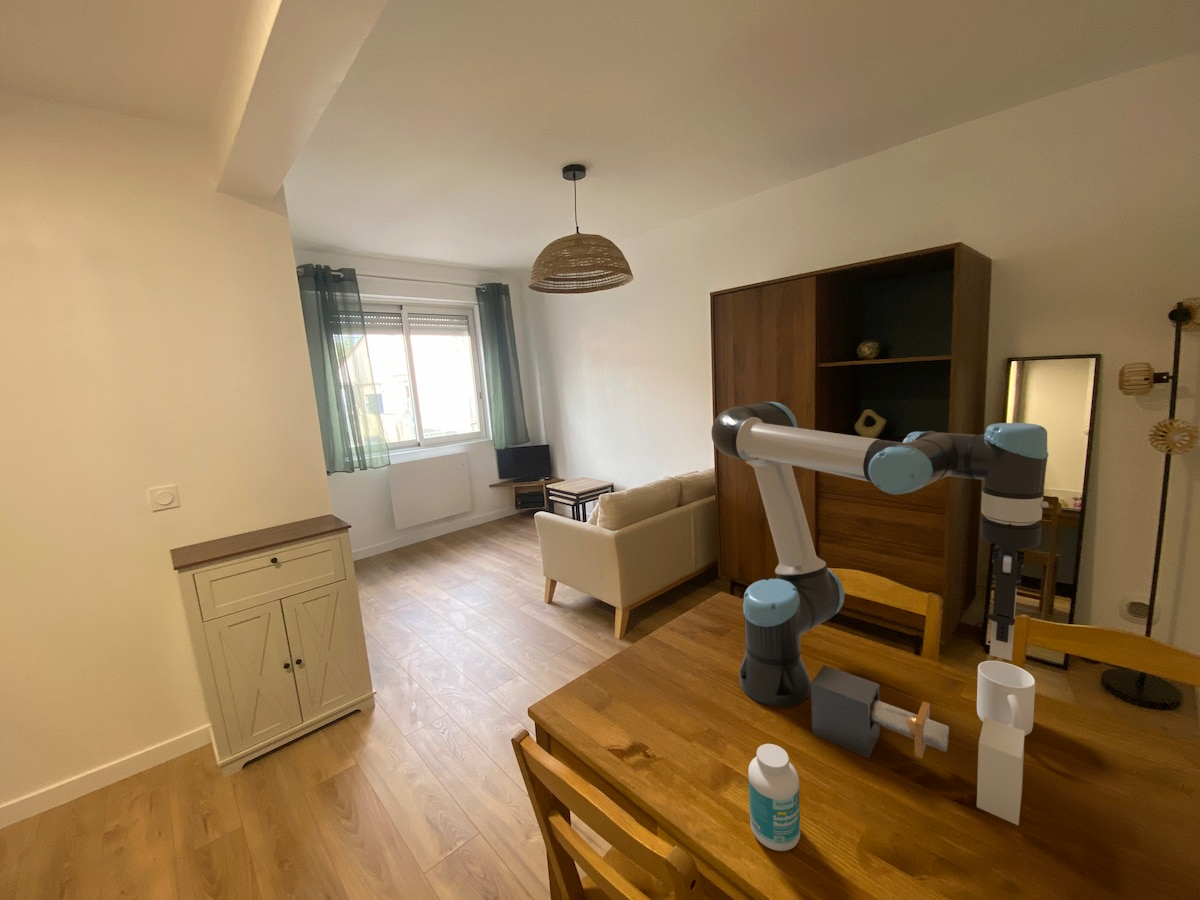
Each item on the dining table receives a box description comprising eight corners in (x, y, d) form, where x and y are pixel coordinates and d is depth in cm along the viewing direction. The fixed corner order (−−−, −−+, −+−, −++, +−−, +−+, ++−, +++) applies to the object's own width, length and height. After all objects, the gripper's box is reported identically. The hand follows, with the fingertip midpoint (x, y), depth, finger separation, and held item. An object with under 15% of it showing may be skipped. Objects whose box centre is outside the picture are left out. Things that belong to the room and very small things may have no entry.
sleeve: (812, 733, 93) (810, 682, 92) (825, 713, 98) (823, 665, 96) (868, 758, 86) (868, 704, 85) (879, 735, 91) (879, 684, 89)
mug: (1046, 758, 83) (1049, 705, 81) (986, 745, 87) (988, 694, 85) (1024, 713, 93) (1027, 665, 92) (972, 703, 97) (973, 657, 96)
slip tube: (817, 715, 92) (816, 685, 91) (829, 697, 97) (828, 668, 96) (943, 767, 78) (943, 733, 77) (949, 744, 83) (950, 711, 82)
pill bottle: (780, 864, 70) (776, 784, 68) (740, 826, 76) (736, 752, 74) (811, 834, 74) (808, 757, 72) (770, 801, 80) (767, 729, 78)
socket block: (976, 806, 75) (978, 742, 74) (982, 778, 80) (984, 717, 79) (1018, 825, 72) (1021, 758, 70) (1021, 794, 77) (1024, 730, 75)
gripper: (1043, 547, 66) (1032, 684, 69) (1041, 501, 84) (1032, 611, 87) (974, 538, 71) (967, 666, 74) (986, 496, 89) (980, 601, 92)
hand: (1002, 637), depth 81 cm, fingers open, 13 cm apart
